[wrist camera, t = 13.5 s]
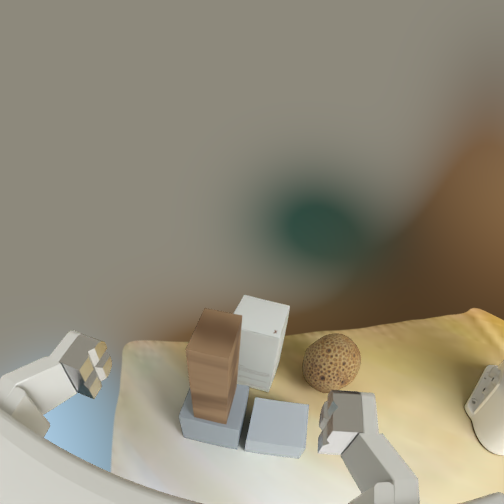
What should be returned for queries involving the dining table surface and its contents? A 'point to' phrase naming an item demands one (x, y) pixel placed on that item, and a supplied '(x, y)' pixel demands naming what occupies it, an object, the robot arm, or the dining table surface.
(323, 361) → the natural sponge
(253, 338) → the supplement box
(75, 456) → the robot arm
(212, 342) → the frame block
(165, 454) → the dining table surface
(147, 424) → the dining table surface
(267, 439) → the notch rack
